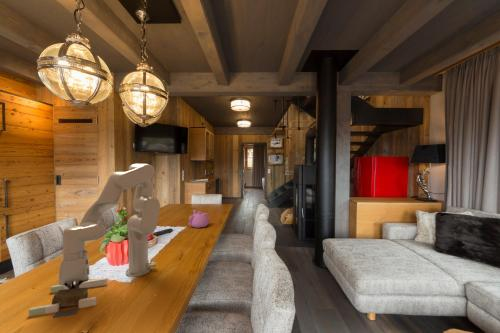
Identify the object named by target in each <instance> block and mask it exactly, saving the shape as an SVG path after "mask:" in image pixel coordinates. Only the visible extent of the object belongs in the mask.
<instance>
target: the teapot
mask: <svg viewBox="0 0 500 333" xmlns="http://www.w3.org/2000/svg"><path fill="white" fill-rule="evenodd" d="M188 220H189V222H188V226H191V227H193V228H197V229H200V228H205V227H207V226H208V224H209V223H210V222H211V220H210V214H209V212H202V210H201V211H196V210H195V209H193V215H189V219H188Z"/></svg>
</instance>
